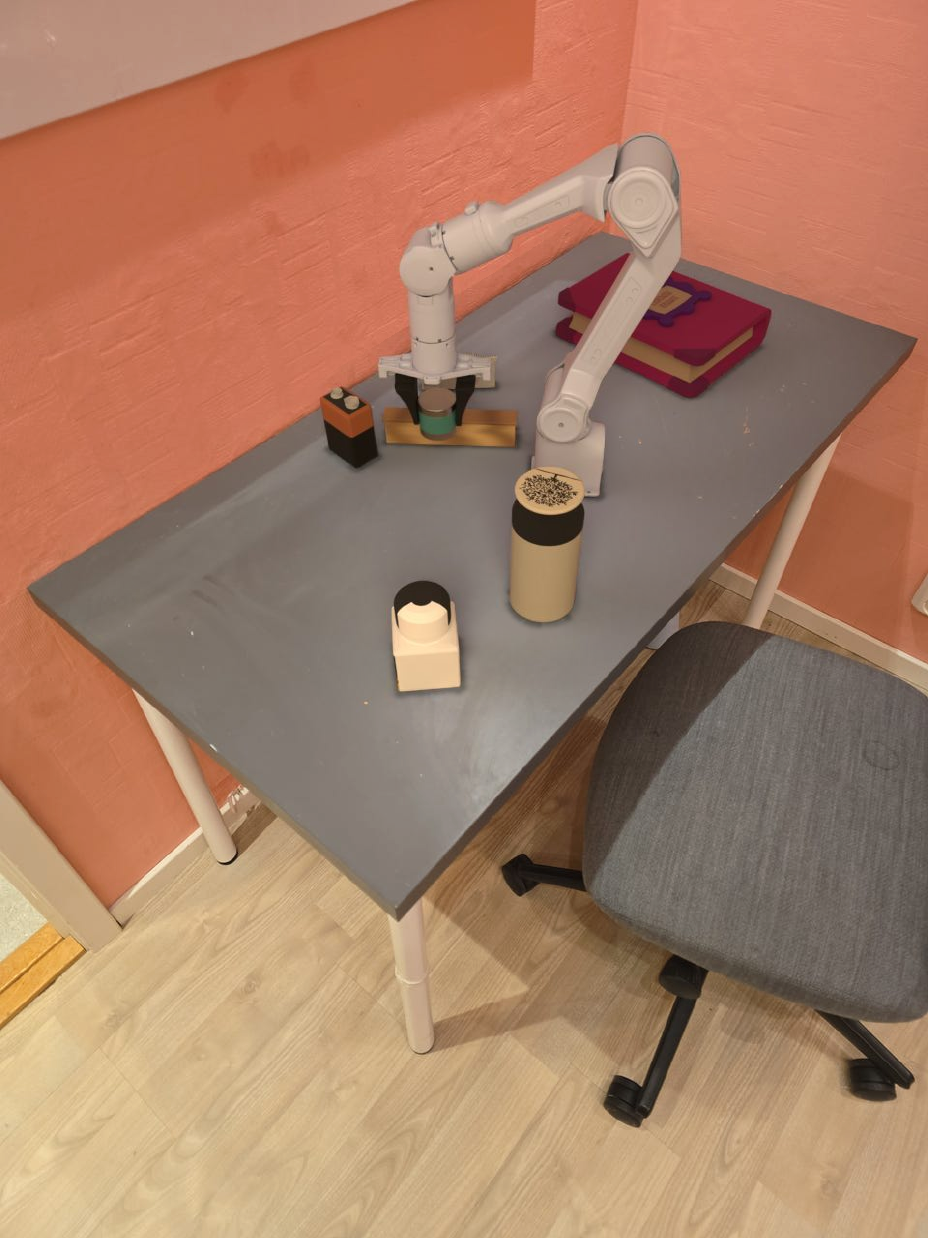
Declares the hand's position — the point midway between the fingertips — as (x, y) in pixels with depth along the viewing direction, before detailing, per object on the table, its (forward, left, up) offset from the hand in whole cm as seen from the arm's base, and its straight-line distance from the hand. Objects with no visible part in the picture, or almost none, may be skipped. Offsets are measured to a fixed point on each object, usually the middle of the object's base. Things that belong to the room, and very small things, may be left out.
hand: (437, 420), depth 115 cm
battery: (+13, -2, -8) cm, 15 cm away
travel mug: (-15, +25, -8) cm, 30 cm away
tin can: (0, 0, -1) cm, 1 cm away
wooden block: (-1, -6, -8) cm, 10 cm away
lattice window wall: (-1, -19, -8) cm, 21 cm away
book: (-33, -34, -8) cm, 48 cm away
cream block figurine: (-2, +36, -8) cm, 37 cm away
